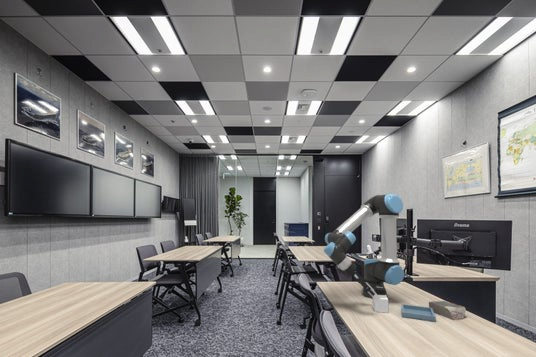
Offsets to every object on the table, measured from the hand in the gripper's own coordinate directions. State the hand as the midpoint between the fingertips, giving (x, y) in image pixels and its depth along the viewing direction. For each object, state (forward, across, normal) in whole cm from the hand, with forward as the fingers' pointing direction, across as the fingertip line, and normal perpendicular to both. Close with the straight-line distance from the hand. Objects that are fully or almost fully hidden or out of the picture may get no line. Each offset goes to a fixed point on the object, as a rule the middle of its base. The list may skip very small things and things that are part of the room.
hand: (375, 295), depth 156 cm
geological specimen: (+32, -2, +20) cm, 38 cm away
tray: (+20, +3, +9) cm, 22 cm away
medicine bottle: (+7, -1, -4) cm, 8 cm away
